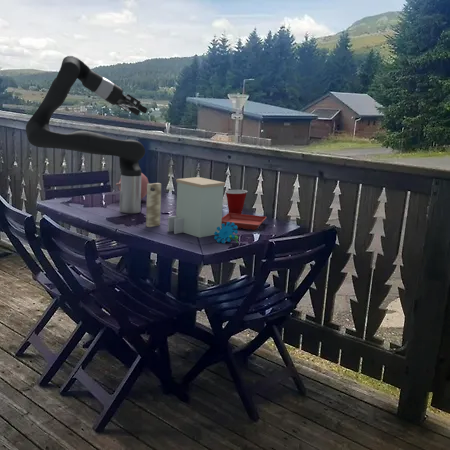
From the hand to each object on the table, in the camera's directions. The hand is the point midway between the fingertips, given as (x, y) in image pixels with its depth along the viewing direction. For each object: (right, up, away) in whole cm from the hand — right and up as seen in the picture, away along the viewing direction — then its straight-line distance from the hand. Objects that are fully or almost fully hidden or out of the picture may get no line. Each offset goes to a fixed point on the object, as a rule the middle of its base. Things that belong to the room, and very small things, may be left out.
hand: (142, 112), depth 220 cm
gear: (+35, -53, -13) cm, 65 cm away
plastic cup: (+39, -42, +36) cm, 67 cm away
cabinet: (+21, -49, -1) cm, 54 cm away
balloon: (-15, -34, +54) cm, 65 cm away
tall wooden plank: (+4, -47, +5) cm, 47 cm away
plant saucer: (+42, -47, +18) cm, 65 cm away
